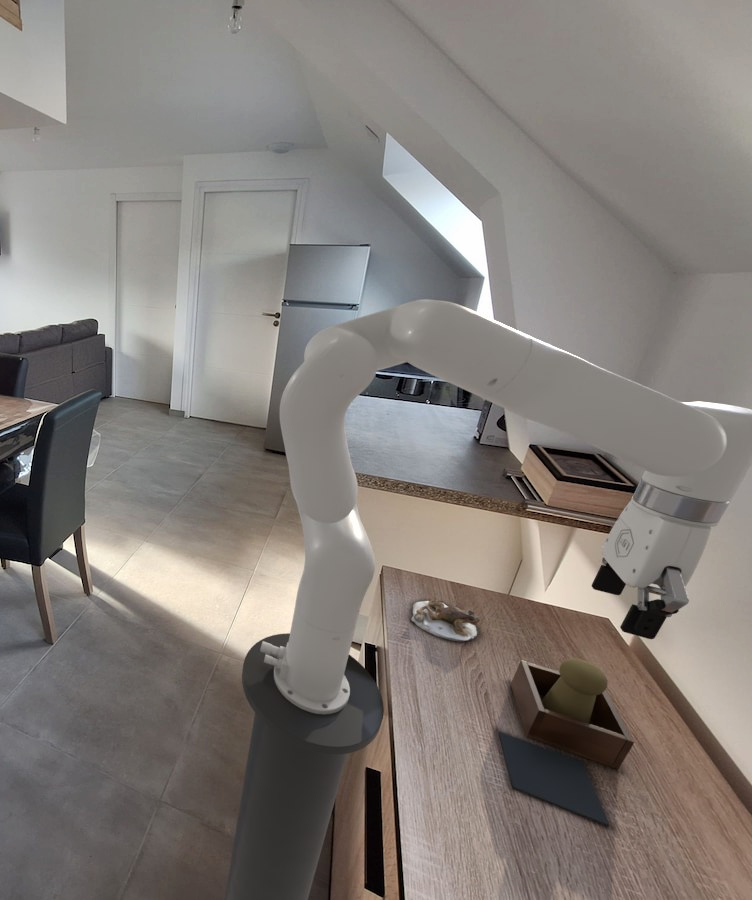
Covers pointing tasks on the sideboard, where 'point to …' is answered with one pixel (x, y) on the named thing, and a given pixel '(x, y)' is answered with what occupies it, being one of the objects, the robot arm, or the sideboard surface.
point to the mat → (551, 778)
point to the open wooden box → (569, 719)
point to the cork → (576, 689)
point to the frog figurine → (445, 620)
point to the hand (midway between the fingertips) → (619, 611)
